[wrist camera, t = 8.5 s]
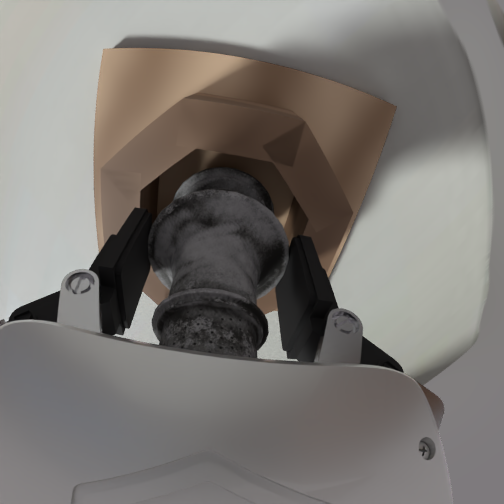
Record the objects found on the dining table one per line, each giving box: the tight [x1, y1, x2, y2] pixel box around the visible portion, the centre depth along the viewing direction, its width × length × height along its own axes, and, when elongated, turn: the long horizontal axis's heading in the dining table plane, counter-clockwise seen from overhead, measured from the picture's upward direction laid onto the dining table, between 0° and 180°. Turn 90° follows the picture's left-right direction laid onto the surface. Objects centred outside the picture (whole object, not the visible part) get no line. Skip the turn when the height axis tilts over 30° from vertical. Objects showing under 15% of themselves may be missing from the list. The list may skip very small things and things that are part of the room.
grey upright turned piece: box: [148, 167, 289, 358], centre depth 10 cm, size 6×6×12 cm
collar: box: [94, 48, 397, 315], centre depth 15 cm, size 16×16×4 cm
